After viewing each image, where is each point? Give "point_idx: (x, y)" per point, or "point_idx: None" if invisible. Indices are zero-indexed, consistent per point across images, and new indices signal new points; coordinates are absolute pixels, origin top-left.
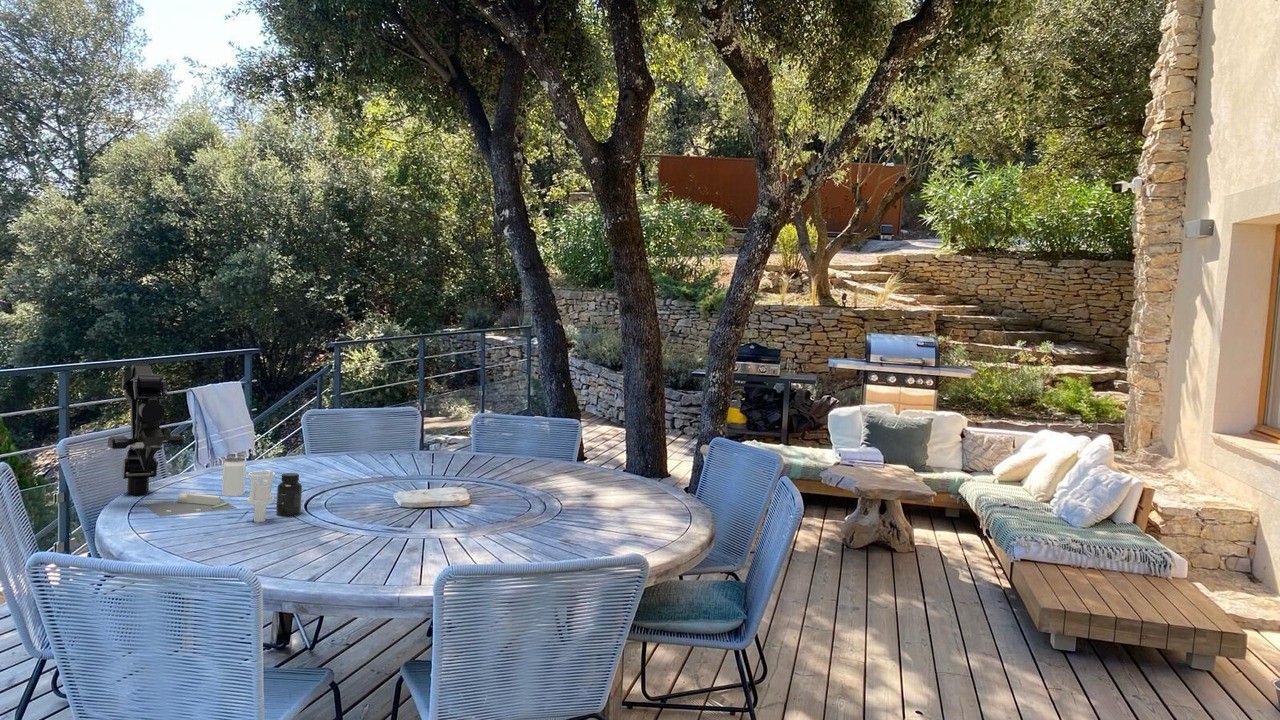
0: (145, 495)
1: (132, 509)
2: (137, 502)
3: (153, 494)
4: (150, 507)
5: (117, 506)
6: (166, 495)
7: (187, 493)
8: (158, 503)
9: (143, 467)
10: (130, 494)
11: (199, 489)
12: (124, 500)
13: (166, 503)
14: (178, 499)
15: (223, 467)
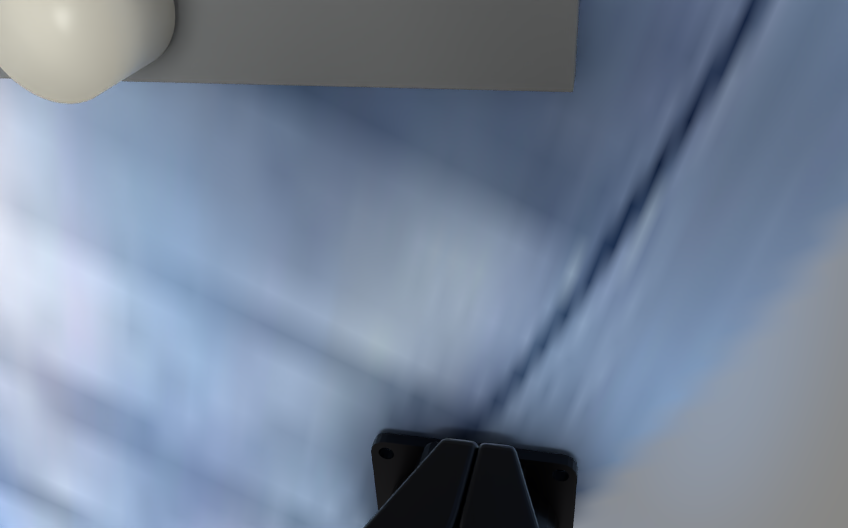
0: (431, 447)
1: (709, 54)
2: (541, 337)
3: (346, 511)
4: None
5: (785, 273)
6: (258, 443)
7: (6, 19)
8: (393, 64)
9: (530, 510)
10: (545, 516)
11: (23, 486)
12: (617, 452)
13: (307, 17)
14: (153, 1)
15: None
